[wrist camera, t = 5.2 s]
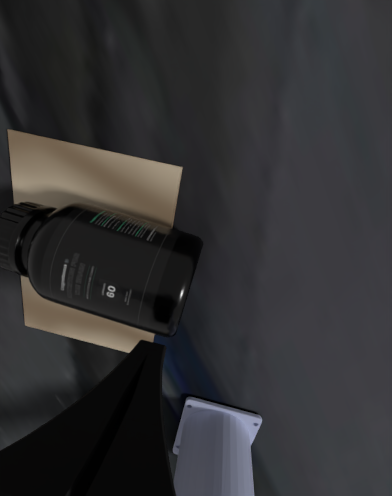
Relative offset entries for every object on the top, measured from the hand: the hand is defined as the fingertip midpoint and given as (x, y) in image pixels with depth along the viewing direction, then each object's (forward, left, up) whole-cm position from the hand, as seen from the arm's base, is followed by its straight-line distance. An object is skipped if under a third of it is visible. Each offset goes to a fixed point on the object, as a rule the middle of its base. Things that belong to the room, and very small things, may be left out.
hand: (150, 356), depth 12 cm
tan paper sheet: (0, +8, -8) cm, 12 cm away
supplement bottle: (+2, -1, -4) cm, 5 cm away
